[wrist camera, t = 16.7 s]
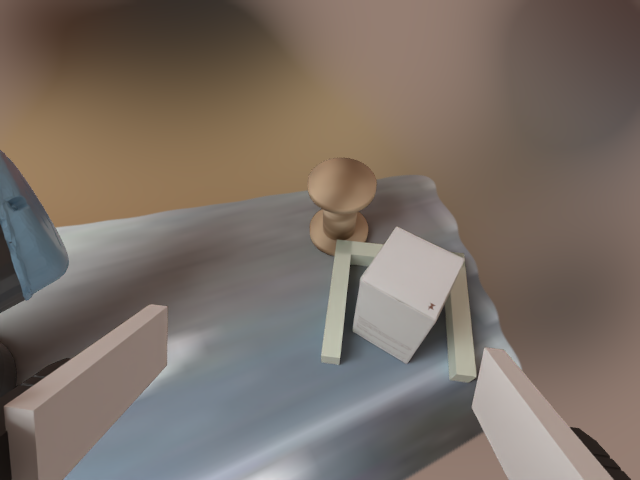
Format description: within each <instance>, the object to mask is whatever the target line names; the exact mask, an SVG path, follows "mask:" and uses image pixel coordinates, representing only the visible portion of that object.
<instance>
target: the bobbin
mask: <svg viewBox="0 0 640 480" xmlns="http://www.w3.org/2000/svg"><path fill="white" fill-rule="evenodd" d="M376 186H377V182H376V178H375V175H374V173H373V172H372V171H371V169H370V168H369V167H367V166H366V165H364V164H363V163H361V162H359V161H357V160H354V159H350V158H333V159H329V160H326V161H323V162H321V163H319V164H318V165H317V166H316V167H314V169H313V170H312V171H311V172H310V174H309V177H308V193H309V196H310V198H311V199H312V201H313V202H314V203H315V204H316V205H317V206H318V207H320V208H321V210H320V211H318V212H317V213H316V214H315V215H314V216H313V218H312V220H311V223H310V237H311V240H312V242H313V244H314V245H315V246H316V247H317V248H318V249H319V250H320V251H322V252H324V253H326V254H328V255H332V256H335V250H336V242H337V239H338V240H347V241H356V242H366V239H367V235H368V224H367V221H366V219H365V218H364V216H363V215H362V214H361V213H360V212H358V211H360V210H362V209H364V208H365V207H367V206H368V205H369V204H370V203H371V202H372V200H373V198H374V196H375V192H376Z"/></svg>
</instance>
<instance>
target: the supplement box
mask: <svg viewBox="0 0 640 480" xmlns="http://www.w3.org/2000/svg"><path fill="white" fill-rule="evenodd" d="M464 260H465V259H464V258H462V257H459V256H457V255H455V254H453V253H451V252H449V251H447V250H445V249H442V248H440V247H438V246H436V245H434V244H432V243H430V242H428V241H426V240H424V239H422V238H420V237H417V236H415V235H413V234H411V233H409V232H407V231H405V230H403V229H401V228H399V227H395V229H394V231H393V232H392V234H391V235H390V237H389V238H388V239H387V241H386V242H385V244H384V245H383V247H382V248H381V249H380V251H379V252H378V254H377V255H376V257H375V258H374V259H373V261H372V262H371V264H370V265H369V266H368V268H367V269H366V271H365V272H364V274H363V275H362V276H361V278H360V286H359V292H358V298H357V304H356V310H355V316H354V323H353V330H352V331H353V332H355V333H356V334H358V335H359V336H361V337H363V338H364V339H366V340H368V341H369V342H371V343H372V344H374V345H376V346H377V347H379V348H381V349H382V350H384V351H386V352H387V353H389V354H391V355H392V356H394V357H396V358H397V359H399V360H401V361H402V362H404V363H406V364H407V363H408V362H409V361H410V359H411V358H412V356H413V355H414V353H415V352H416V350H417V349H418V347H419V346H420V344H421V343H422V341H423V340H424V339H425V337H426V336H427V334H428V333H429V331H430V330H431V328H432V327H433V325H434V324H435V323H436V321H437V319H438V317H439V315H440V313H441V311H442V309H443V307H444V304H445V302H446V300H447V298H448V296H449V294H450V292H451V290H452V287H453V285H454V283H455V281H456V278H457V276H458V274H459V272H460V269H461V267H462V265H463V263H464Z"/></svg>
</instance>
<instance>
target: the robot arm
mask: <svg viewBox="0 0 640 480" xmlns="http://www.w3.org/2000/svg"><path fill="white" fill-rule="evenodd" d="M68 264H69V258H68V254H67V251H66V248H65V246H64V244H63V242H62V240H61V238H60V236H59V234H58V232H57V230H56V228H55V227H54V225H53V223H52V221H51V220H50V218H49V216H48V214H47V213H46V211H45V209H44V208H43V206H42V204H41V203H40V201H39V200H38V198H37V196H36V195H35V193H34V192H33V190H32V189H31V187H30V186H29V184H28V183H27V181H26V180H25V178H24V177H23V176H22V174H21V173H20V171H19V170H18V168H17V167H16V166H15V165H14V163H13V162H12V161H11V160H10V159H9V158H8V157H7V156H6V155H5V153H3V152H2V151H1V150H0V313H1V312H3V311H5V310H7V309H9V308H11V307H12V306H14V305H16V304H18V303H20V302H22V301H24V300H26V301H27V300H29V299H30V298H31V297H32V295H33V294H34V293H36V292H37V291H39V290H41V289H42V288H44V287H46V286H47V285H49V284H51V283H52V282H54V281H56V280H57V279H59V278H60V277H61V276H62V275H64V273H65V272H66V270H67V268H68ZM167 324H168V306H161V305H153V304H150V305H148V306H147V307H145V308H144V309H142V310H141V311H140V312H138V313H137V314H135V315H134V316H132V317H131V318H130V319H128V320H127V321H125V322H124V323H122V324H121V325H119V326H118V327H117V328H115V329H114V330H112V331H111V332H109V333H108V334H107V335H105V336H104V337H102V338H101V339H99V340H98V341H97V342H95V343H94V344H92V345H91V346H89V347H88V348H87V349H85V350H84V351H82V352H81V353H79V354H78V355H76V356H75V357H74V358H72V359H70V358H66V359H63V360H61V361H58V362H56V363H53V364H51V365H49V366H47V367H46V368H44V369H43V370H41V371H40V372H38V373H37V374H35V375H34V377H31V378H29V379H28V380H26V381H25V382H23V383H22V385H19V386H17V387H16V388H15V384H16V366H15V362H14V359H13V356H12V355H11V353H10V351H9V350H8V349H7V348H6V347H5V346H4V345H3V344H2V343H0V480H63V479H64V478H65V477H66V476H67V474H68V473H69V472H70V471H71V470H72V469H73V468H74V467H75V466H76V465H77V463H78V462H79V461H80V460H81V459H82V458H83V457H84V456H85V455H86V454H87V453H88V451H89V450H90V449H91V448H92V447H93V446H94V445H95V444H96V443H97V442H98V440H99V439H100V438H101V437H102V436H103V435H104V434H105V433H106V432H107V431H108V429H109V428H110V427H111V426H112V425H113V424H114V423H115V422H116V421H117V420H118V418H119V417H120V416H121V415H122V414H123V413H124V412H125V411H126V410H127V409H128V407H129V406H130V405H131V404H132V403H133V402H134V401H135V400H136V399H137V398H138V396H139V395H140V394H141V393H142V392H143V391H144V390H145V389H146V388H147V387H148V386H149V384H150V383H151V382H152V381H153V380H154V379H155V378H156V377H157V376H158V375H159V373H160V372H161V371H162V370H163V369H164V368H165V367H166V366H167ZM472 409H473V411H474V413H475V415H476V417H477V419H478V421H479V423H480V425H481V427H482V429H483V431H484V433H485V435H486V437H487V439H488V440H489V443H490V445H491V446H492V448H493V450H494V452H495V454H496V456H497V458H498V460H499V462H500V464H501V466H502V468H503V470H504V472H505V474H506V476H507V478H508V480H631V479H630V478H629V477H628V476H627V475H626V474H625V473H624V472H623V471H621V469H620V467H619V466H618V465H617V464H616V463H615V461H614V460H612V459H610V456H609V455H608V454H607V453H606V451H605V450H604V449H603V448H602V447H601V446H600V445H599V444H598V442H597V441H595V440H594V439H592V438H591V437H590V436H589V435H587V434H586V433H584V432H583V431H582V430H580V429H579V428H573V427H569V426H568V425H567V424H566V423H565V421H564V420H563V419H562V418H561V417H560V415H559V414H558V413H557V412H556V411H555V410H554V409H553V407H552V406H551V405H550V404H549V402H548V401H547V400H546V399H545V398H544V396H543V395H542V394H541V393H540V392H539V391H538V389H537V388H536V387H535V386H534V385H533V383H532V382H531V381H530V380H529V379H528V378H527V376H526V375H525V374H524V373H523V372H522V370H521V369H520V368H519V367H518V366H517V364H516V363H515V362H514V361H513V360H512V359H511V357H510V356H509V355H508V354H507V353H506V351H505V350H502V349H495V348H487V347H484V352H483V357H482V361H481V366H480V371H479V375H478V380H477V385H476V389H475V394H474V399H473V403H472Z"/></svg>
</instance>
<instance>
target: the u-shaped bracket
mask: <svg viewBox="0 0 640 480" xmlns="http://www.w3.org/2000/svg"><path fill="white" fill-rule="evenodd" d="M382 247H383V244H374V243H365V242H356V241H347V240H338V239H337V242H336V250H335V257H334V265H333V272H332V280H331V287H330V294H329V302H328V309H327V317H326V324H325V332H324V339H323V346H322V354H321V362H323V363H330V364H337V365H339V363H340V355H341V345H342V336H343V326H344V317H345V307H346V298H347V288H348V278H349V269H350V264H351V265H360V266H369V265H370V264H371V262H372V261H373V259H374V258H375V257H376V255H377V254H378V252H379V251H380V249H381V248H382ZM451 253H453V254H455V255H457V256H459V257H462V258H464V253H455V252H451ZM445 315H446V331H447V347H448V363H449V379H450V380H452V381H460V382H467V383H469V382H470V381H472V380H473V379H474V378H476V377H477V375H476V365H475V355H474V346H473V336H472V326H471V317H470V307H469V297H468V288H467V278H466V268H465V260H464V263H463V265H462V267H461V269H460V272H459V274H458V276H457V278H456V281H455V283H454V285H453V287H452V290H451V292H450V294H449V296H448V298H447V300H446V302H445Z"/></svg>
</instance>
